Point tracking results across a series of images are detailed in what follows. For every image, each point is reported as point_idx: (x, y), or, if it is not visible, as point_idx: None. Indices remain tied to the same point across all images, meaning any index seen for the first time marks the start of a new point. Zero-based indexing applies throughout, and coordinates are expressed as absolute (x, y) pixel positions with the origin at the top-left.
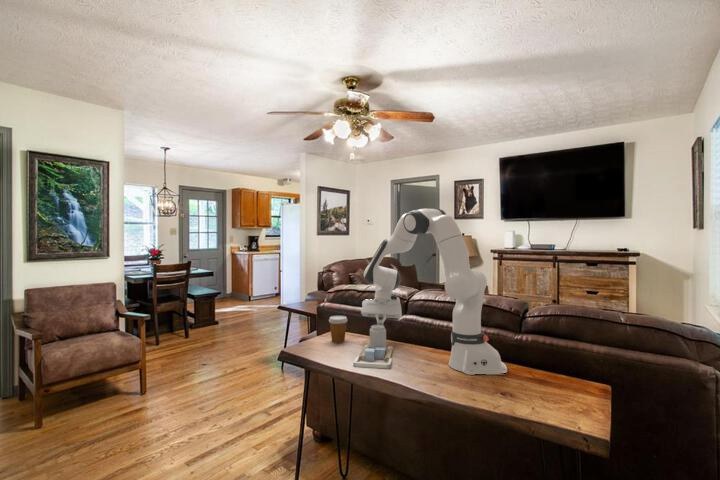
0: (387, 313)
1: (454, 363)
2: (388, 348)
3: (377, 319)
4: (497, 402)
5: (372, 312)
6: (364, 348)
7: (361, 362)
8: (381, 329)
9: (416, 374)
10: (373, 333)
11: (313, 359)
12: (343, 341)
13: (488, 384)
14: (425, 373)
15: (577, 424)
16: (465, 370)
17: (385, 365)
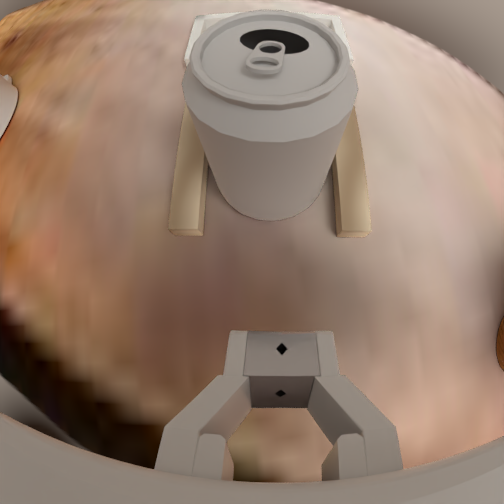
0: (103, 470)
1: (6, 86)
2: (198, 177)
3: (339, 377)
4: (38, 14)
5: (486, 460)
6: (357, 154)
7: (309, 16)
8: (225, 30)
9: (121, 25)
10: (299, 42)
11: (487, 87)
12: (500, 330)
13: (8, 58)
14: (95, 38)
15: (3, 22)
16: (6, 78)
17: (212, 16)
